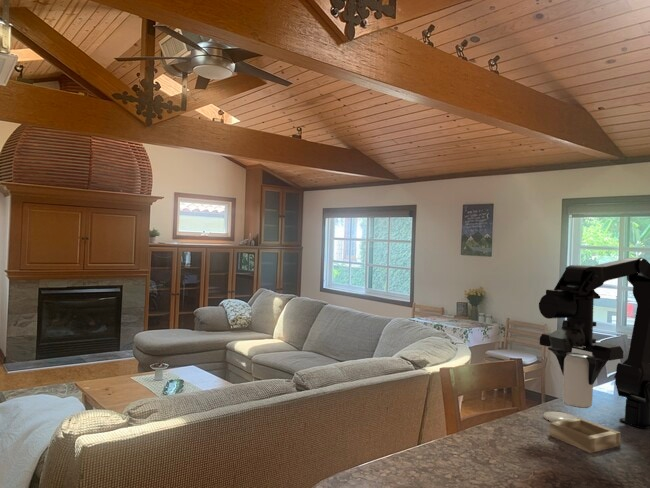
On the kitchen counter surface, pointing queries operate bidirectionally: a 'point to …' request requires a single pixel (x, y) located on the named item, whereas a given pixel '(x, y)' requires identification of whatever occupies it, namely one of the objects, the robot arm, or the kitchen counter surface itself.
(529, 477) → the kitchen counter surface
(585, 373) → the can
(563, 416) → the coaster
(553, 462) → the kitchen counter surface
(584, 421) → the socket block
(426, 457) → the kitchen counter surface
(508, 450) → the kitchen counter surface
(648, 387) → the robot arm
